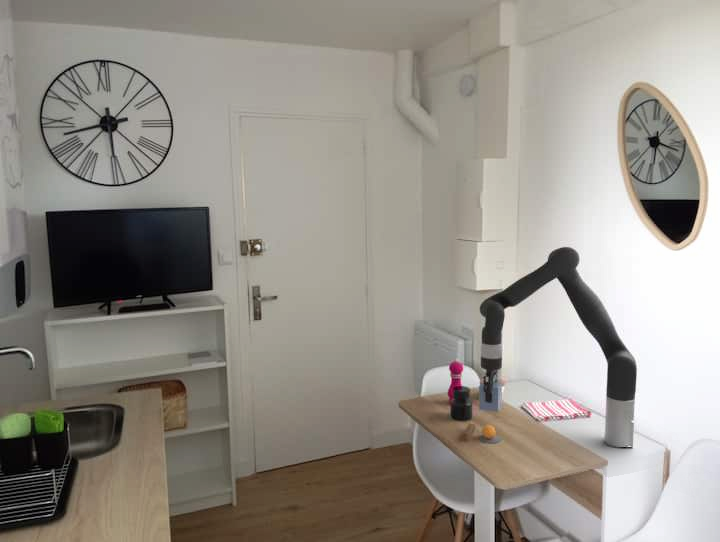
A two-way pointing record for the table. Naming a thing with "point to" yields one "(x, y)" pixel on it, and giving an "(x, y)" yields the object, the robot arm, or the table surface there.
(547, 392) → the table surface
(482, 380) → the lidded jar
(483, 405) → the blue gray block
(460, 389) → the ink bottle
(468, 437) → the strip
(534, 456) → the table surface
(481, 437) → the gray ellipsoid
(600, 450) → the table surface
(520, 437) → the table surface
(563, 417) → the dish towel
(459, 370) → the pepper mill
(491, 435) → the ball
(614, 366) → the robot arm
